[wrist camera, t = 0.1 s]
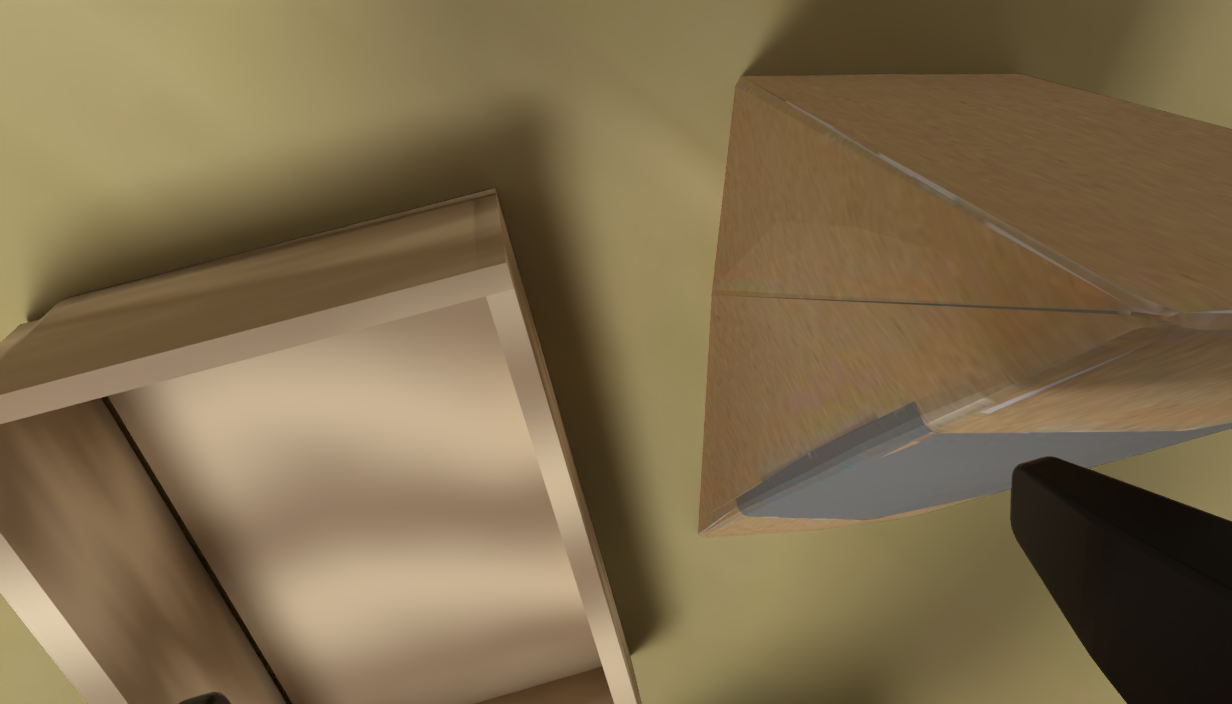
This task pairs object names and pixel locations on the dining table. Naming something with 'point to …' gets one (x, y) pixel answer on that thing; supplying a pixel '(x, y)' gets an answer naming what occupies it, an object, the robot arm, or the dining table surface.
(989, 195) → the sandwich container
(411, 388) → the carton
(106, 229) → the dining table surface
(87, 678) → the flap
